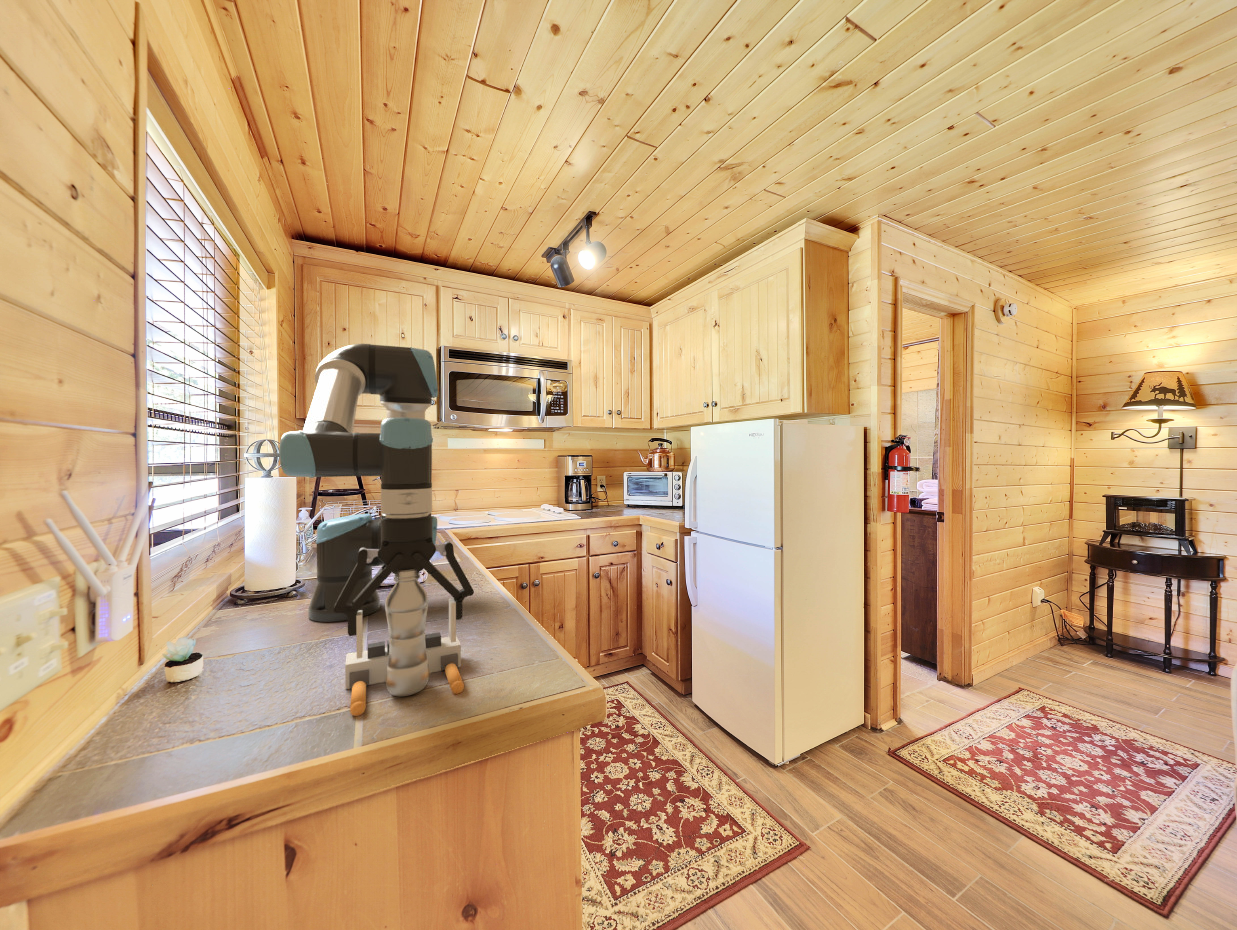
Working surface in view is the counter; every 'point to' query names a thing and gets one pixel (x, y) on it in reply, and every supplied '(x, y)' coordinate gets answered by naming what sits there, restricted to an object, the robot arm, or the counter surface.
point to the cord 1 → (358, 698)
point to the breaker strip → (377, 655)
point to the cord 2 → (454, 678)
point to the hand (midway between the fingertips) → (407, 647)
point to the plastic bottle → (407, 635)
